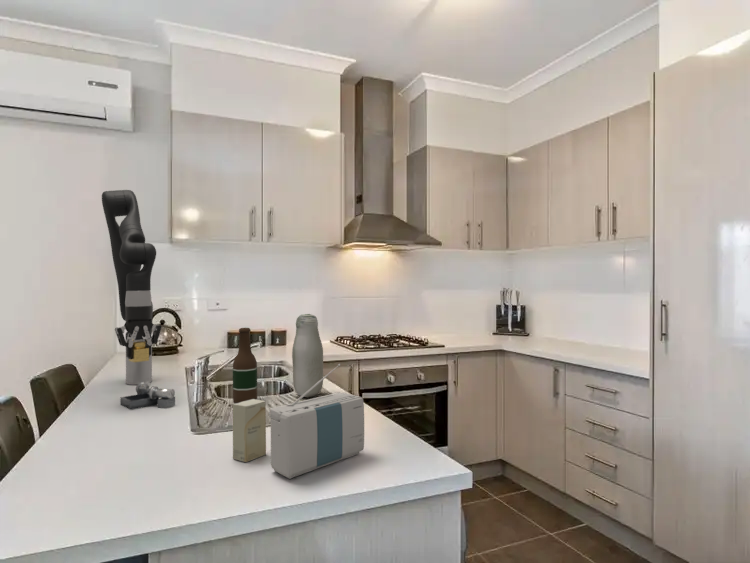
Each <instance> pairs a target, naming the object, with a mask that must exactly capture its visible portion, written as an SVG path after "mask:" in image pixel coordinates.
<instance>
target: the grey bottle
mask: <svg viewBox="0 0 750 563" xmlns="http://www.w3.org/2000/svg"><path fill="white" fill-rule="evenodd" d="M318 321H319V320H318V318H317V316H316V315H314V314H312V313H311V314H310V313H305V314H300V315H299V316H297V317H296V322H295V336H294V340H293V345H292V351H291V358H292V381H293V382H292V384H293V389H294V391H295V393H296V394H297V396H299V397H301V396H302V395H303V394H304V393H305V392H307V391H308V390H309V389H310V388H311V387H312V386H314V385H315V384H316V383H317V382H318V381H320V380H321V379H322V378H323V377H324V348H323V344H322V343H323V342H322V340H321V337H320V332H319V328H318V327H319V322H318ZM323 386H324V380H322V381H321V382H320V383H319V384H318V385H317V386H316V387H314V388H313V389H312V390H311V391H310V392H309V393H307V394H306V395H305V396H304V397H303V398H312V397H313V398H314V397H316V396H317V395H319V394H320V392H321V391H322V389H323Z"/></svg>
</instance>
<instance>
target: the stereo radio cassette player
mask: <svg viewBox="0 0 750 563" xmlns="http://www.w3.org/2000/svg"><path fill="white" fill-rule="evenodd" d="M340 366H341V363H338V364H337V366H336V367H335V368H333V369H332V370H330V371H329V372H328V373H327V374H326V375H323V378H322V379H321V380H320V381H318V382H317V383H316V384H315V385H314V386H312V387H311V388H310V389H309V390H308V391H307V392H305V393H304V394H303V395H302V396H299V397H298V398H297V399H296V400H295V401H293V402H291V403H288V404H282V405H278V406H274V407H270V408H269V413H268V415H269V419H270V466H271V468H272V469H273V471H275V472H276V473H278V474H280V475H281V476H284V477H286V478H287V479H289V480H291V479H292V478H296V477H298V476H301V475H303V474H305V473H309V472H312V471H314V470H318V469H320V468H322V467H325V466H328V465H330V464H333V463H336V462H340V461H342V460H345V459H347V458H351V457H353V456H357V455H359V454H360V452H362V451H364V448H365V404H364V402H365V401H364V399H363V397H362V396H358V395H355V394H351V393H345V392H340V391H339V392H335V393H331V394H327V395H323V396H322V395H320V396H318V397H313V398H310V399H309V398H308V399H304V400H302V399H303V398H305V397H304V396H305V395H306V394H307V393H309V392H310V391H311V390H312V389H313V388H314V387H316V386H317V385H318V384H319V383H320V382H321V381H322V380H323V381H324V380H325V379H326V378H327V377H328V376H329V375H330V374H332V373H333V372H334V371H335V370H336V369H337V368H338V367H340Z"/></svg>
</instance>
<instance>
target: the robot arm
mask: <svg viewBox="0 0 750 563" xmlns="http://www.w3.org/2000/svg"><path fill="white" fill-rule="evenodd" d="M101 203H102V209H103V213H104V217H105V222H106V226H107V230H108V234H109V241H110V247H111V254H112V255H111V256H112V260H113V266H114V271H115V276H116V280H117V287H118V288H117V289H118V297H119V298H118V300H119V310H120V315H121V318H122V319H123V321H124V322H125V323H124V325H123V326H120V327H115V329H114V331H115V335H116V337H117V340H118V343H119V346H122V347H125V385H136V386H137V385H138V384H139V383H141V382H143V381H146V380H147V381H149V382H150V383H151V382H153V357H152V356H153V353H152V352H153V346H152V345H154V344H157V343H158V342H159V338H160V335H161V330H162V325H160V324H154V323H153V318H154V316H153V314H154V305H153V302H152V294H151V293H152V292H151V286H152V285H151V279H152V278H151V277H152V271H153V267H154V265H155V261H156V258H157V249H156V247H155V245H154V244H152V243H149V242H146V237H145V234H144V230H143V228H142V224H141V216H140V209H139V208H140V207H139V203H138V199H137V197H136V194H135V192H134V191H133V190H131V189H118V190H106V191H103V192H102V194H101ZM117 217H124V219H122V220H121V222H120V224H119V223H118V222H117V219H116V218H117ZM142 265H143V266H142ZM125 331H126V332H125ZM124 334H125V335H124ZM137 341H146V348H149V361H142V362H131V361H129V359H133V347H132V345H133V342H137Z"/></svg>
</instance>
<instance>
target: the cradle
mask: <svg viewBox="0 0 750 563" xmlns="http://www.w3.org/2000/svg"><path fill="white" fill-rule="evenodd" d="M158 399H160V398H156V399H150V398H149V393H144V394H137V393H136V394H132V395H126V396H121V397H120V398H119V400H120V401H119V402H120V403H119V404H120V406H122V407H124V408H126V409H128V410H130V411H131V410H136V409H141V407H142V408H145V407H147V408H148V407H150V406H151V407H152V406H156V405H157V404H158ZM157 406H158V405H157Z"/></svg>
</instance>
